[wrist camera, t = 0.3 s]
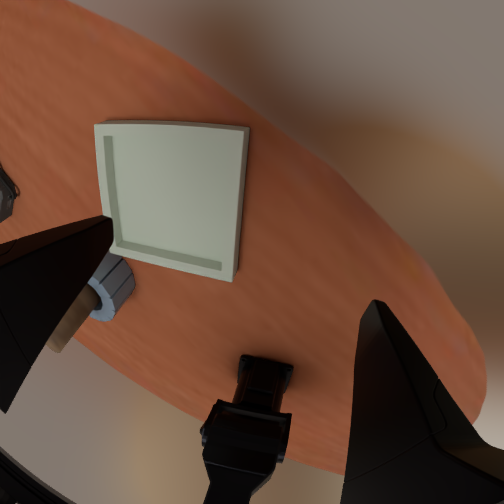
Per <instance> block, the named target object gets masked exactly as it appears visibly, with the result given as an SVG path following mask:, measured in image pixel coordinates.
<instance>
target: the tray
mask: <svg viewBox="0 0 504 504" xmlns="http://www.w3.org/2000/svg"><path fill="white" fill-rule="evenodd" d="M94 129H95V146H96V158H97V169H98V178H99V187H100V195H101V202H102V209H103V215H104V216H108V217H111V218H112V220H113V228H114V241H113V244H112V246H111V247H110V249H109V250H110V253H113V254H116V255H120V256H124V257H128V258H132V259H136V260H140V261H144V262H148V263H152V264H156V265H160V266H164V267H168V268H172V269H176V270H180V271H185V272H189V273H193V274H197V275H202V276H206V277H210V278H215V279H219V280H223V281H228V282H232V281H233V279H234V277H235V275H236V272H237V268H238V256H239V244H240V232H241V220H242V209H243V198H244V186H245V175H246V165H247V154H248V143H249V133H250V127H242V126H233V125H223V124H212V123H200V122H184V121H161V120H107V121H104V122H100V123H97V124H94Z"/></svg>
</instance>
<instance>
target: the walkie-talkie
mask: <svg viewBox="0 0 504 504" xmlns="http://www.w3.org/2000/svg"><path fill="white" fill-rule="evenodd" d="M16 197H17V194H16V190H15V187H14V184H13V183H12V182H11V181H10V180H9V178H8V177H7V175H5V173H4V172H3V170H1V168H0V223H1V222H2V221H4V220H5V219H7V218H8V217H9V216H11V215H12V209H13V203H14V199H16Z"/></svg>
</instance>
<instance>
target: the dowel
mask: <svg viewBox="0 0 504 504" xmlns="http://www.w3.org/2000/svg"><path fill="white" fill-rule="evenodd" d="M100 301H101V297H100V296H99V294H98V293H97V292H96V290H95V289H94V288H93V287H92V286H90V285H89V284H88V283H87V284H86V286H85V287H84V288H83V290H82V291H81V292H80V294H79V295H78V297H77V298H76V299H75V301H74V302H73V304H72V305H71V306H70V308H69V309H68V311H67V312H66V314H65V315H64V316H63V318H62V319H61V321H60V322H59V324H58V325H57V327H56V328H55V330H54V331H53V333H52V335H51V336H50V338H49V339H48V341H47V342H46V345H47V346H48V347H49V348H50V349H51V350H53V351H55V352H57V353H60V352H61V351H62V349H63V348H64V347H65V345H66V344H67V343H68V341H69V340H70V338H71V337H72V336H73V335H74V334H75V332H76V331H77V330H78V328H79V327H80V326H81V325H82V323H83V322H84V321H85V320H86V318H87V317H88V316H89V315H90V313H91V312H92V311H93V310H94V308H95V307H96V306H97V305H98V304H99V302H100Z"/></svg>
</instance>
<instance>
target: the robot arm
mask: <svg viewBox="0 0 504 504" xmlns="http://www.w3.org/2000/svg"><path fill="white" fill-rule="evenodd" d="M113 241H114V228H113V220H112V218H111V217H108V216H104V215H100V216H96V217H92V218H88V219H84V220H81V221H77V222H73V223H69V224H66V225H62V226H59V227H55V228H52V229H48V230H45V231H41V232H38V233H35V234H31V235H28V236H25V237H22V238H19V239H18V240H17V239H15V240H12V241H9V242H6V243H3V244H0V410H1V411H3V412H4V413H5V414H6V412H7V411H8V409H9V407H10V405H11V403H12V401H13V399H14V398H15V396H16V394H17V392H18V390H19V388H20V386H21V385H22V383H23V381H24V379H25V377H26V376H27V374H28V372H29V370H30V369H31V366H32V365H33V363H34V362H35V360H36V358H37V357H38V355H39V353H40V352H41V350H42V349H43V347H44V345H45V344H46V342H47V341H48V339H49V338H50V336H51V335H52V333H53V331H54V330H55V328H56V327H57V325H58V324H59V322H60V321H61V319H62V318H63V316H64V315H65V314H66V312H67V311H68V309H69V308H70V306H71V305H72V304H73V302H74V301H75V299H76V298H77V297H78V295H79V294H80V292H81V291H82V290H83V288H84V287H85V286H86V284H87V283H88V282H89V280H90V279H91V277H92V276H93V274H94V273H95V271H96V270H97V268H98V266H99V265H100V263H101V262H102V260H103V258H104V257H105V255H106V254H107V252H108V250H109V249H110V247H111V246H112V244H113ZM293 368H294V367H293V366H291V365H287V364H282V363H277V362H272V361H267V360H263V359H258V358H254V357H250V356H245V355H242V356H241V357H240V362H239V371H238V380H237V383H238V385H237V388H236V391H235V395H234V398H233V401H232V403H230V402H226V401H223V400H220V399H218V400H217V402H216V404H214V405H213V407H212V410H211V412H210V414H209V416H208V418H207V420H206V421H205V423H204V424H203V426H202V427H201V429H200V434H201V435H202V446H203V447H204V449H203V453H202V456H203V460H204V463H205V467H206V470H207V474H208V477H209V480H210V485H209V488H208V491H207V494H206V497H205V500H204V503H203V504H249V501H250V498H251V496H252V495H253V494H254V493H255V492H257V491H258V490H259V489H260V488H261V487H262V486H263V485H264V484H266V483H267V482H268V481H269V480H270V478H271V476H272V474H273V472H274V470H275V466H276V462H277V463H282V462H283V460H284V456H285V453H286V448H287V444H288V438H289V431H290V424H291V417H292V413H281V412H280V408H281V403H282V398H283V393H285V391H286V388H287V386H288V383H289V380H290V378H291V375H292V372H293ZM15 503H17V504H76V503H75V502H73V501H71V500H70V499H68V498H66V497H65V496H63V495H62V494H60V493H59V492H57V491H56V490H54V489H53V488H52V487H50V486H48V485H47V484H46V483H44V482H43V481H42V480H40V479H39V478H38V477H36V476H35V475H33V474H32V473H31V472H30V471H28V470H27V469H26V468H25V467H23V466H22V465H21V464H20V463H19V462H17V461H16V460H15V459H14V458H12V456H10V455H9V454H8V453H7V452H6V451H5V450H4V449H2V448H1V447H0V504H15ZM340 504H504V450H502V449H499V448H496V447H493V446H491V445H489V444H488V443H486V442H485V441H484V440H483V439H482V438H481V437H480V436H479V434H478V433H477V431H476V430H475V429H474V427H473V426H472V424H471V423H470V422H469V420H468V419H467V418H466V416H465V415H464V413H463V412H462V411H461V409H460V408H459V407H458V405H457V404H456V402H455V401H454V400H453V398H452V397H451V395H450V394H449V392H448V391H447V389H446V388H445V386H444V385H443V383H442V382H441V380H440V379H438V376H437V374H436V373H435V371H434V370H433V368H432V367H431V365H430V364H429V362H428V361H427V360H426V358H425V357H424V355H423V354H422V352H421V351H420V349H419V348H418V347H417V345H416V344H415V342H414V341H413V340H412V338H411V337H410V335H409V334H408V333H407V331H406V330H405V329H404V327H403V326H402V324H401V323H400V322H399V320H398V319H397V318H396V316H395V315H394V314H393V312H392V311H391V310H390V308H389V307H388V306H387V304H386V303H385V302H383V301H379V300H376V299H374V300H372V301H371V303H370V304H369V306H368V308H367V309H366V311H365V312H364V314H363V316H362V318H361V320H360V325H359V333H358V341H357V348H356V355H355V364H354V384H353V402H352V415H351V427H350V437H349V447H348V455H347V463H346V470H345V478H344V484H343V489H342V495H341V502H340Z"/></svg>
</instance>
